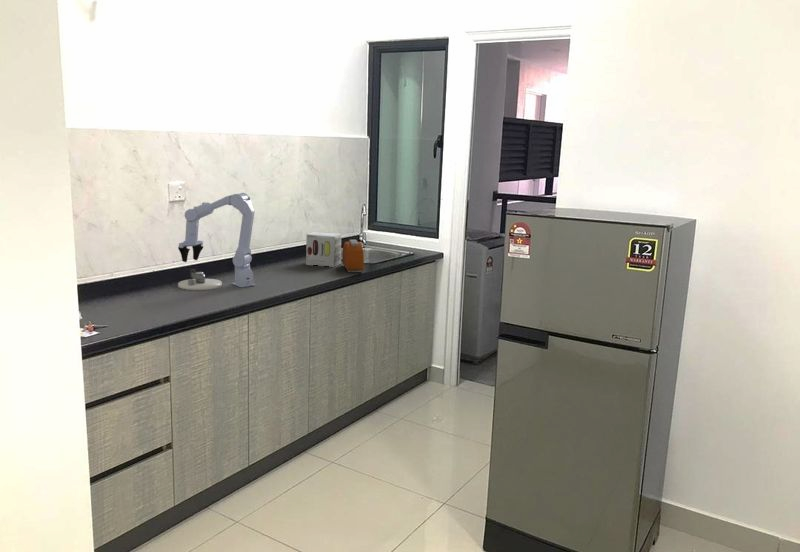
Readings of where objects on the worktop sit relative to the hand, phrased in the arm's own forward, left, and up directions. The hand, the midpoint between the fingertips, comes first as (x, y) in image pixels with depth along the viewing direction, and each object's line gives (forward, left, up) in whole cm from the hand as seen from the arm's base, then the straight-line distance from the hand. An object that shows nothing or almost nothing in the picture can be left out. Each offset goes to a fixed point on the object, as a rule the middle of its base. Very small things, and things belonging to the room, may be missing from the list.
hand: (190, 260), depth 316 cm
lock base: (-12, 0, -10) cm, 16 cm away
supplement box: (+5, -82, -11) cm, 82 cm away
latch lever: (-9, 0, -8) cm, 12 cm away
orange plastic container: (-15, -88, -11) cm, 89 cm away
